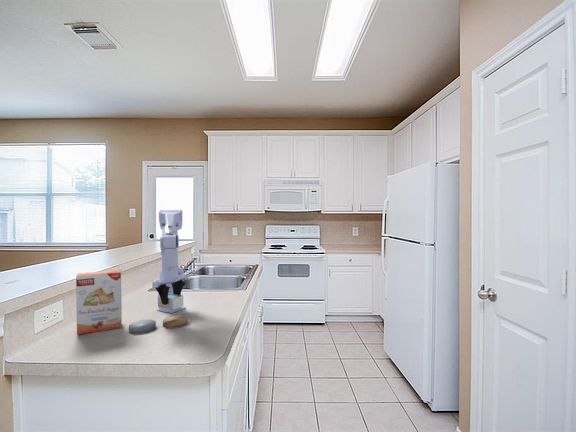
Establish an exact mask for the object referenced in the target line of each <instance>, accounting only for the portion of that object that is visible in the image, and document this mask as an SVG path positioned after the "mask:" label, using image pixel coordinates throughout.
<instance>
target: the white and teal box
mask: <svg viewBox="0 0 576 432" xmlns="http://www.w3.org/2000/svg"><path fill="white" fill-rule="evenodd" d="M168 295H174V296H179V297H176V298H168V303H167V305H164V304H162V301H161V298H160V296H158V295H157V308H158V307H162V308H167V309H172V310H174V309H176V308H179V307H182V306H183V307H184V295H183V294H181V295H177V294H170V293H168Z"/></svg>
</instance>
